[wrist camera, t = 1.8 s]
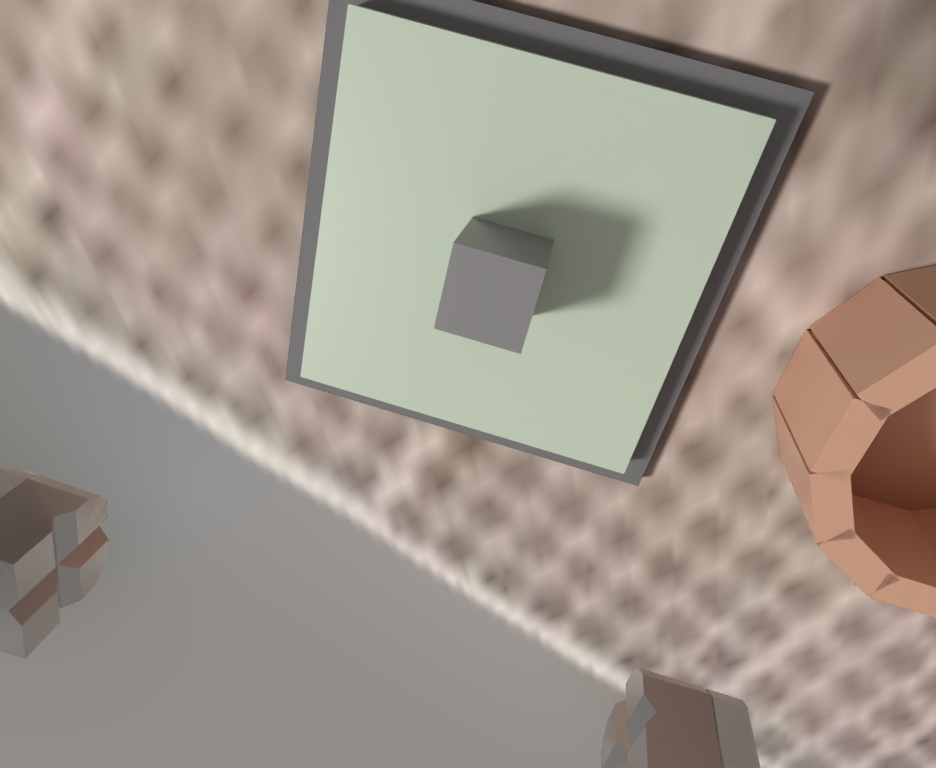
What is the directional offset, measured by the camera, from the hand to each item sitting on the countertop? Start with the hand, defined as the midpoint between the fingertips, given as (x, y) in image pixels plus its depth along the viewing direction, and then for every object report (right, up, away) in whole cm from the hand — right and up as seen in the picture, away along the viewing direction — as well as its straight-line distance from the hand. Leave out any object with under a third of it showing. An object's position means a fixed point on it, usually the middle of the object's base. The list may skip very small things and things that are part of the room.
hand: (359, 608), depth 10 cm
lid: (+3, +8, +16) cm, 18 cm away
